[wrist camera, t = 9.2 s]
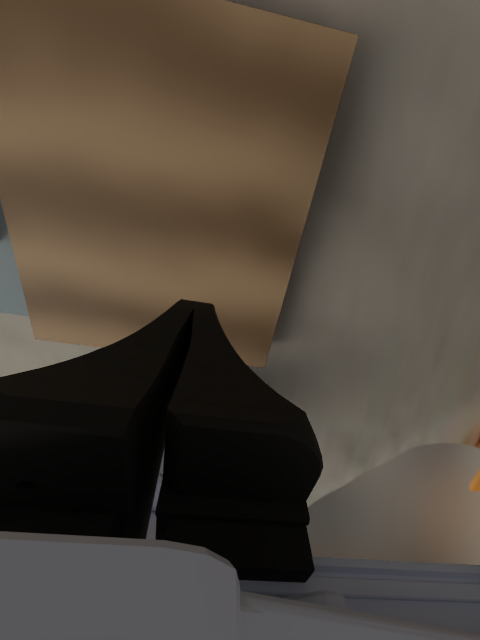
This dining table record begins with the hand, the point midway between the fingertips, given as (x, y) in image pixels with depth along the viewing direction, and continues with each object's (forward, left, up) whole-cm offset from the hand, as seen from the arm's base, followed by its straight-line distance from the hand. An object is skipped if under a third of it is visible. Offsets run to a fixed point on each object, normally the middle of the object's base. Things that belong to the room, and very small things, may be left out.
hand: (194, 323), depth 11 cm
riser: (+2, +3, -9) cm, 10 cm away
